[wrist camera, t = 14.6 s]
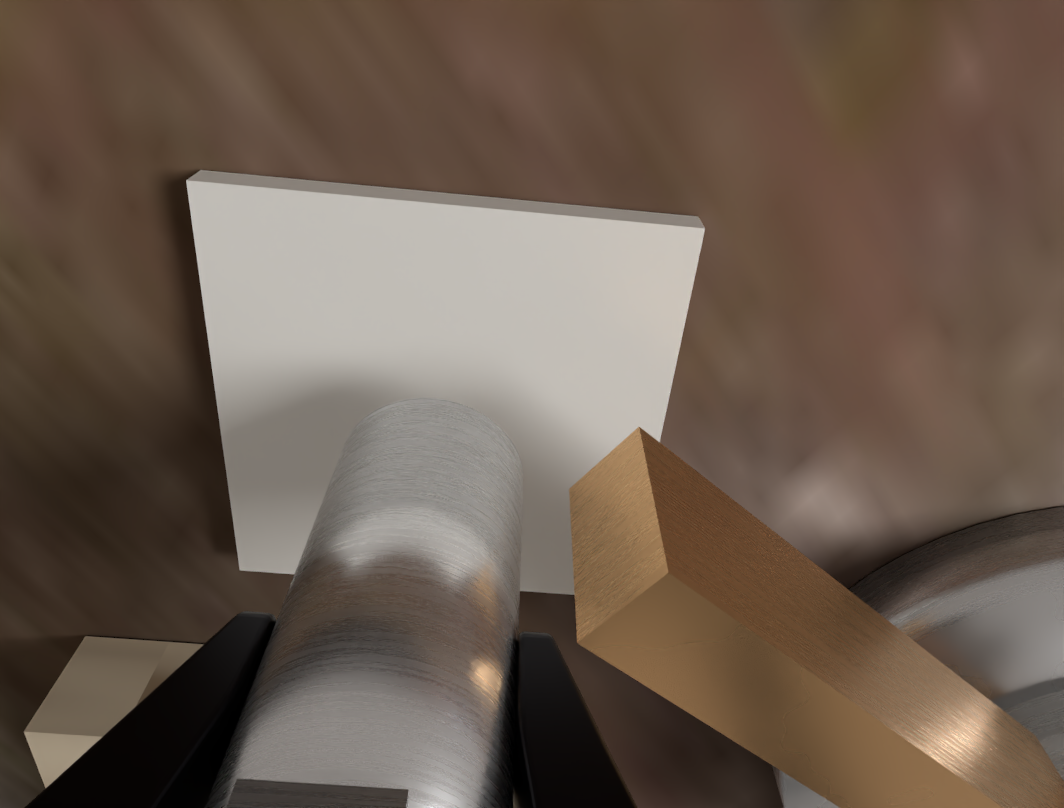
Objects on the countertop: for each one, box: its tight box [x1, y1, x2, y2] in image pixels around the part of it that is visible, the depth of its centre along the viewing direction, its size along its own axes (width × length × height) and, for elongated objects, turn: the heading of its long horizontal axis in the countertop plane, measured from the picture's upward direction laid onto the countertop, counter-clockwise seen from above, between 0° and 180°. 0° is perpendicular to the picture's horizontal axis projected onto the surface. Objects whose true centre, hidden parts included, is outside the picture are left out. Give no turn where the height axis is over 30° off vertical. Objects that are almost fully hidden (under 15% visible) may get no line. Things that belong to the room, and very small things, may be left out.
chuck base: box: [772, 507, 1064, 808], centre depth 18 cm, size 12×12×2 cm
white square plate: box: [186, 170, 705, 595], centre depth 14 cm, size 8×8×1 cm
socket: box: [24, 636, 204, 788], centre depth 19 cm, size 8×8×2 cm
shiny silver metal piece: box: [205, 398, 523, 808], centre depth 9 cm, size 5×3×8 cm, turn 174°
